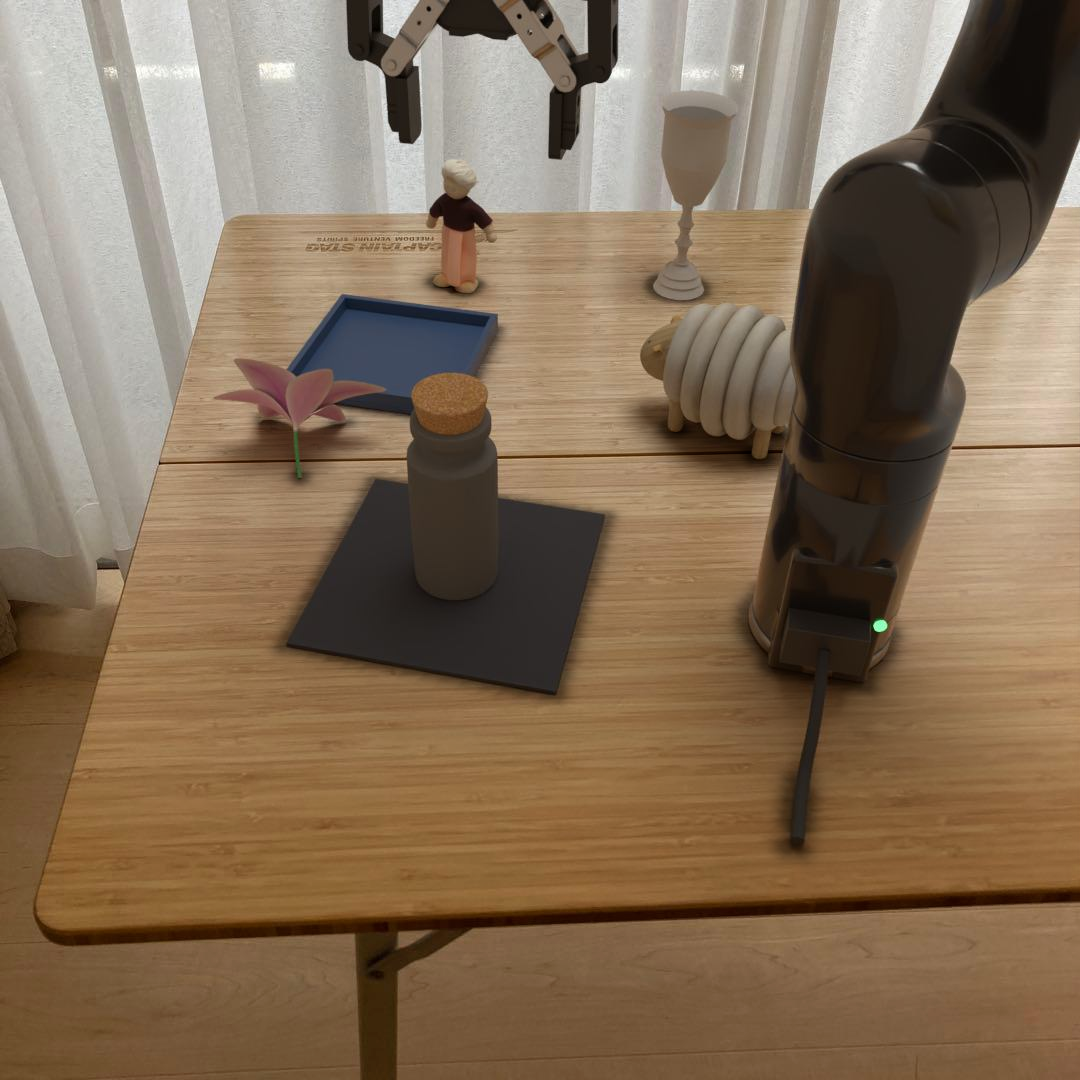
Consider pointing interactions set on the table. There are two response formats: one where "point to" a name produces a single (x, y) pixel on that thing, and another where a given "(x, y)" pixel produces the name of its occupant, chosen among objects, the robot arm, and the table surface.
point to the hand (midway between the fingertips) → (484, 146)
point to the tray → (395, 346)
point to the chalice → (691, 173)
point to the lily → (295, 394)
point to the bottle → (453, 487)
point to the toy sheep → (725, 371)
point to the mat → (455, 625)
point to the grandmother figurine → (459, 227)
